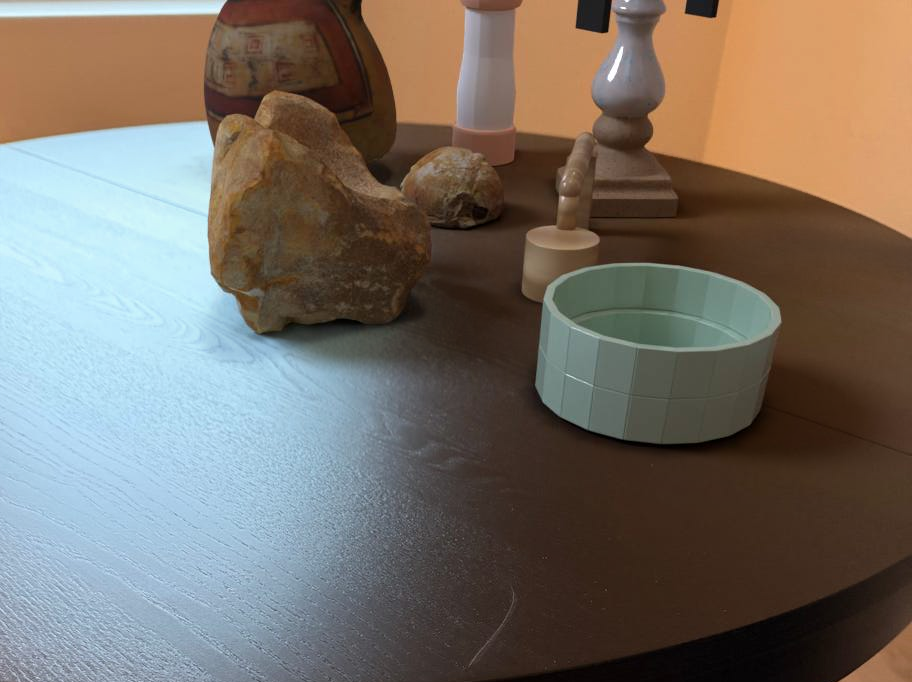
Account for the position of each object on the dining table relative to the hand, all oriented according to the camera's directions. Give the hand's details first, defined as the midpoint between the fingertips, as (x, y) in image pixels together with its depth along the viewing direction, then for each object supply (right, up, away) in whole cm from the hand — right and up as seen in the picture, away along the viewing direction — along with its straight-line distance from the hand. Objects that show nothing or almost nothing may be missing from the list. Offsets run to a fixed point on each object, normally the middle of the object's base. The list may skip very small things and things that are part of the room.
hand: (648, 23), depth 83 cm
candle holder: (+2, -3, +26) cm, 26 cm away
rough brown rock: (-26, -23, +1) cm, 34 cm away
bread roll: (-16, -7, +21) cm, 27 cm away
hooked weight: (-5, -16, +10) cm, 19 cm away
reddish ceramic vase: (-31, +2, +31) cm, 44 cm away
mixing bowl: (-3, -33, -11) cm, 35 cm away
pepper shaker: (-11, +7, +38) cm, 40 cm away
